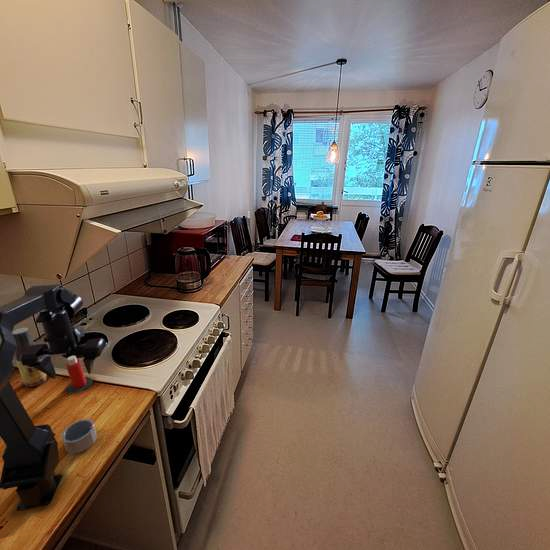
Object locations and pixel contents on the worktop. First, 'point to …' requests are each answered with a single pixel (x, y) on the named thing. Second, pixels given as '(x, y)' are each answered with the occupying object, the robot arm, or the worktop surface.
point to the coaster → (88, 384)
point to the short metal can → (79, 436)
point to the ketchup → (76, 372)
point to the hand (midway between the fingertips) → (72, 375)
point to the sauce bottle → (28, 374)
